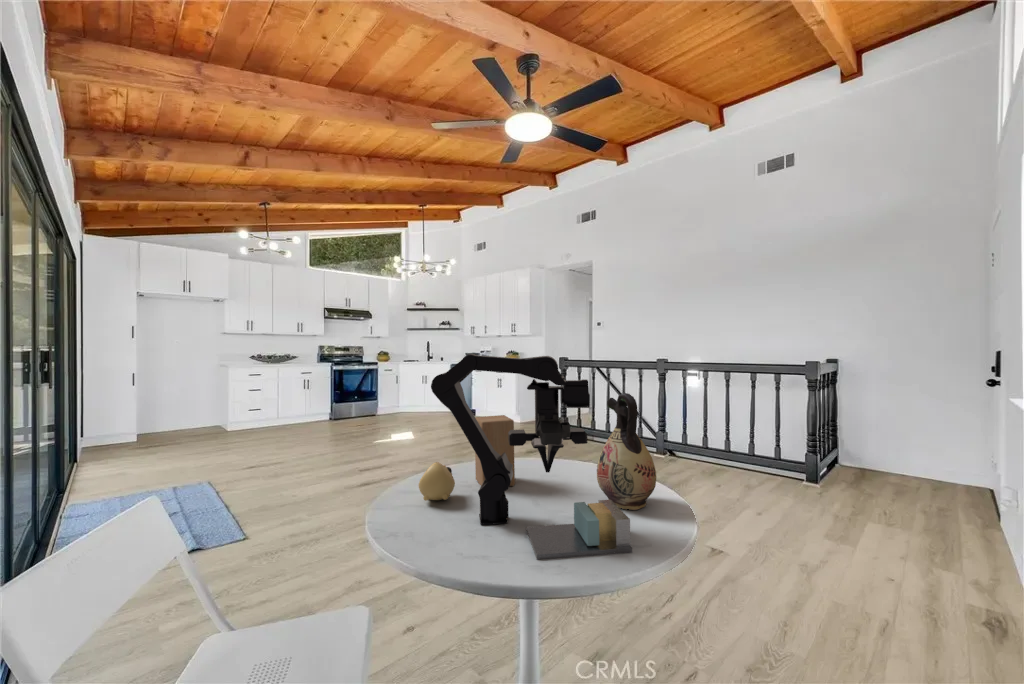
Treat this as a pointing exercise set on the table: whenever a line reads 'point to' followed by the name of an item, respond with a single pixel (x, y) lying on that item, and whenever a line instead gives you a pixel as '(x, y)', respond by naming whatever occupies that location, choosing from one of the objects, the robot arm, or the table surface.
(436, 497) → the toy pig
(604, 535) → the brass block
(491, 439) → the wooden block
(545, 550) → the vise base
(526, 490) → the table surface
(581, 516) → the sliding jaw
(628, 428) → the ceramic jug
